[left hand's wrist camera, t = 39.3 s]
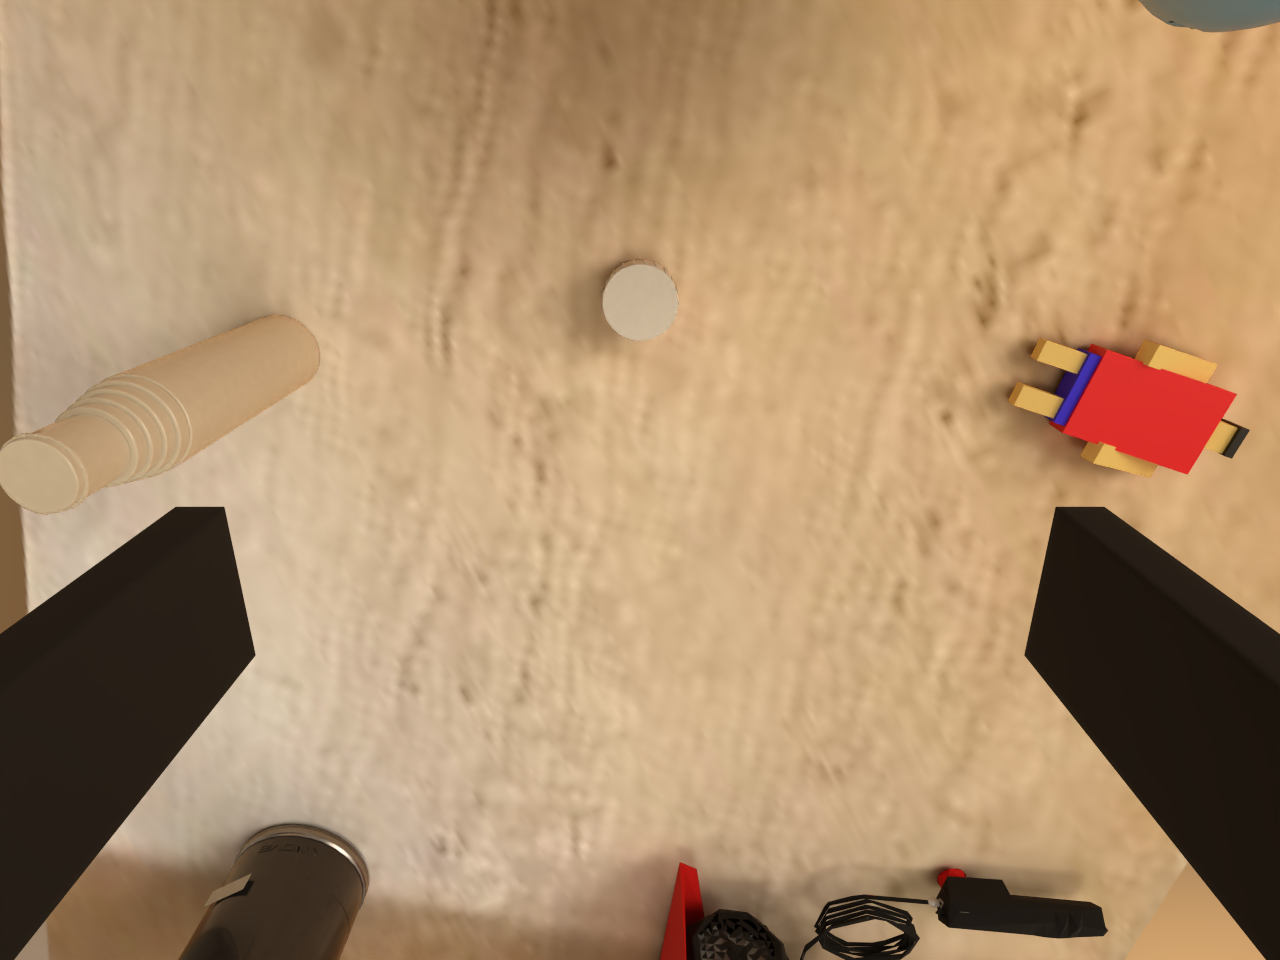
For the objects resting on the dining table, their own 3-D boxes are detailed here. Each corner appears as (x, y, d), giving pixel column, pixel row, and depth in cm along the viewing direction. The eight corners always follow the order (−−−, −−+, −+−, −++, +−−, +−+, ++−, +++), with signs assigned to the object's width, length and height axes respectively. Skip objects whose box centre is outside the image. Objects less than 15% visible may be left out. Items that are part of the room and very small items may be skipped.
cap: (607, 336, 43) (605, 345, 41) (598, 262, 41) (596, 267, 39) (679, 329, 43) (682, 338, 41) (673, 254, 41) (675, 259, 39)
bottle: (247, 306, 42) (-34, 403, 25) (323, 325, 43) (100, 433, 25) (242, 378, 44) (-26, 519, 26) (316, 395, 44) (101, 545, 26)
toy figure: (1006, 434, 43) (1208, 501, 43) (1068, 313, 40) (1281, 386, 41) (990, 421, 45) (1182, 485, 46) (1048, 306, 43) (1249, 375, 43)
